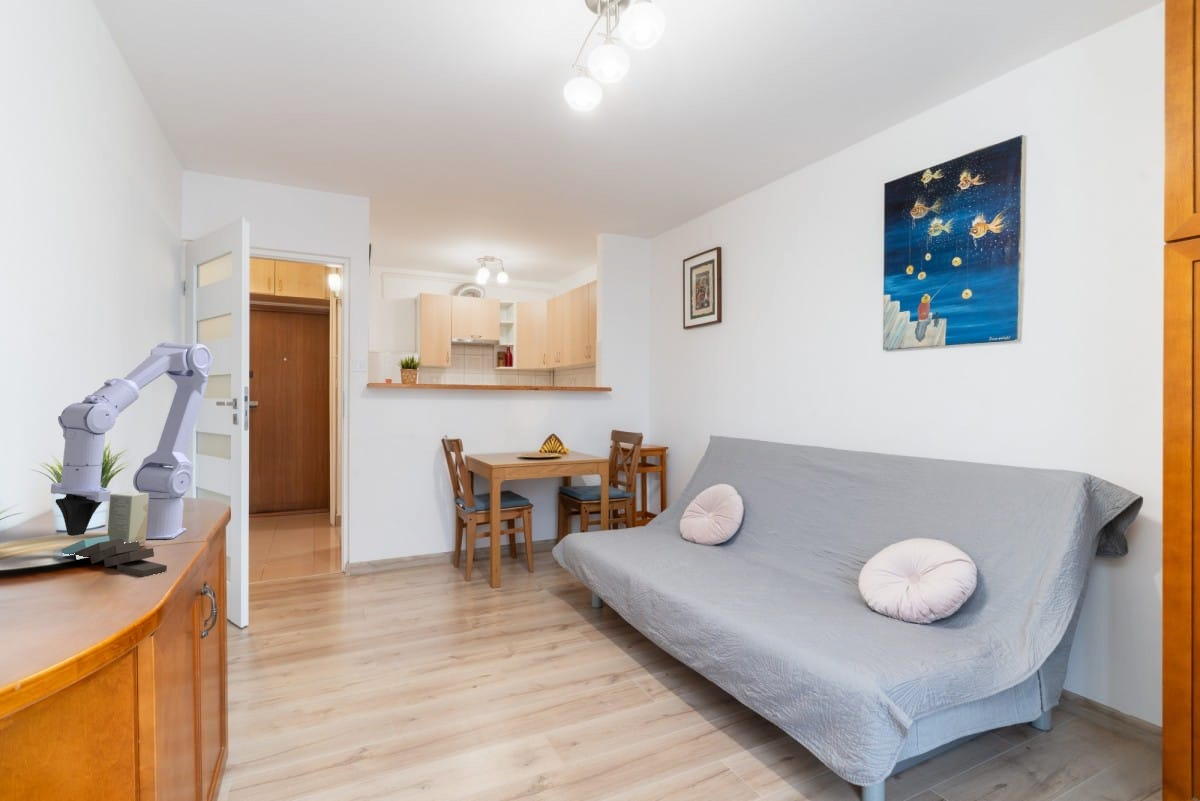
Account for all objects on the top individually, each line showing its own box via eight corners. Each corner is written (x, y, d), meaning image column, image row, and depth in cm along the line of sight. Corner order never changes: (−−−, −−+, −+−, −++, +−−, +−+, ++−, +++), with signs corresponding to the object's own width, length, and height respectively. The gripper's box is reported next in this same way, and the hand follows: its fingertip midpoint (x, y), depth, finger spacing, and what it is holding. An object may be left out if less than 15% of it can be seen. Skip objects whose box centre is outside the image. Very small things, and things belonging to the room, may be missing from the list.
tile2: (74, 552, 108) (98, 542, 106) (98, 548, 111) (122, 538, 109) (75, 560, 107) (100, 551, 105) (100, 556, 111) (124, 546, 109)
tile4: (103, 558, 105) (129, 552, 103) (127, 554, 109) (153, 547, 107) (104, 567, 105) (130, 561, 103) (128, 562, 109) (154, 556, 107)
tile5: (117, 564, 104) (143, 570, 101) (141, 559, 107) (166, 565, 105) (116, 573, 104) (142, 579, 101) (140, 568, 107) (166, 574, 105)
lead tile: (61, 549, 109) (84, 539, 107) (85, 545, 113) (108, 535, 111) (62, 557, 109) (85, 547, 107) (86, 553, 112) (110, 543, 110)
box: (146, 545, 121) (151, 493, 121) (127, 550, 116) (132, 495, 117) (123, 543, 121) (128, 490, 122) (104, 547, 117) (109, 493, 117)
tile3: (89, 555, 106) (115, 545, 105) (113, 551, 110) (138, 541, 108) (91, 563, 106) (117, 553, 104) (115, 559, 110) (140, 549, 108)
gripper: (34, 462, 110) (27, 532, 110) (82, 469, 105) (75, 544, 105) (78, 460, 117) (71, 527, 116) (125, 467, 112) (118, 537, 111)
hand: (76, 534), depth 111 cm, fingers closed
